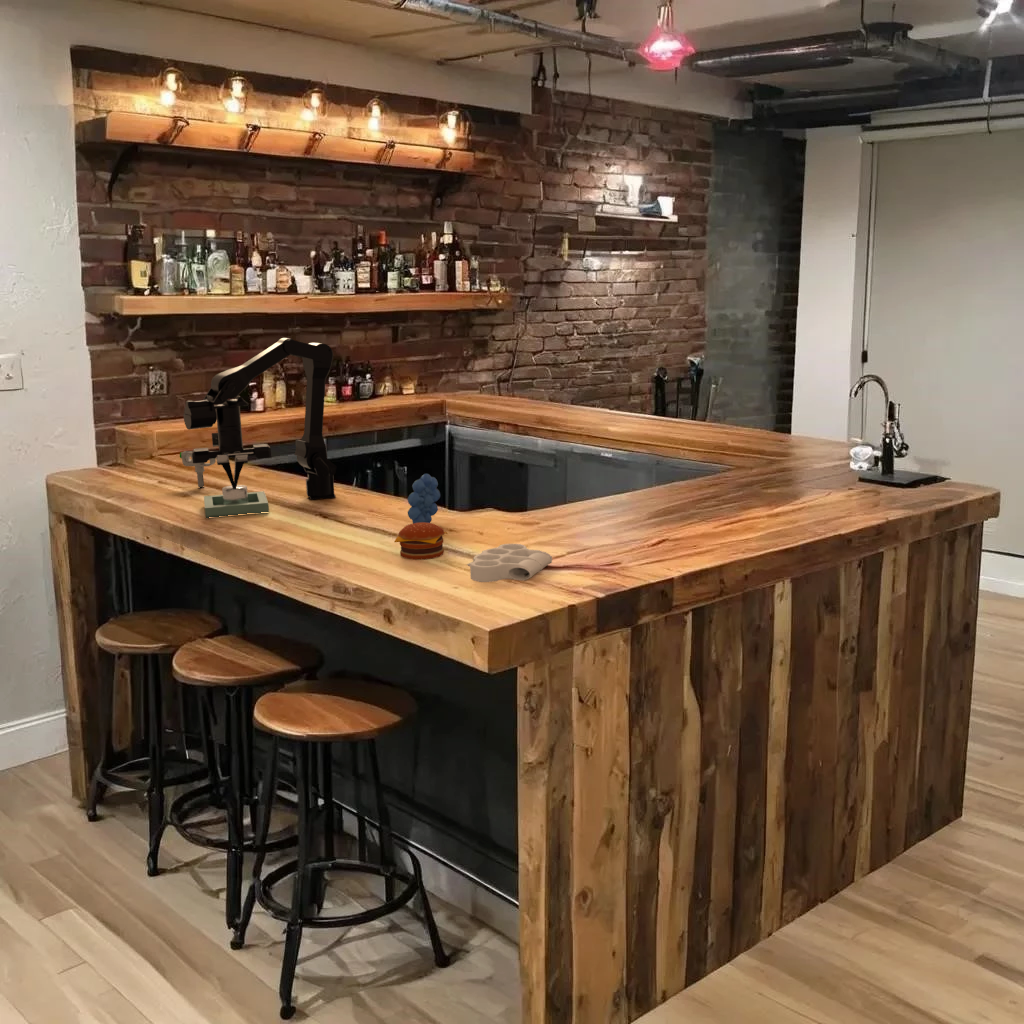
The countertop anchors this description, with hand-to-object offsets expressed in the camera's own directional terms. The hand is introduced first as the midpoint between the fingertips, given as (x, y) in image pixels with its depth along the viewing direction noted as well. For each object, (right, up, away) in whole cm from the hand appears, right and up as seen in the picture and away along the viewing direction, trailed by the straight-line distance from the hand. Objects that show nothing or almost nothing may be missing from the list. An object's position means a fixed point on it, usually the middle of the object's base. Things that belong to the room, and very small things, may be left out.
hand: (234, 487), depth 280 cm
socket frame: (0, -5, +1) cm, 6 cm away
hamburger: (+50, -15, -46) cm, 70 cm away
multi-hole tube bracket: (+68, -18, -60) cm, 92 cm away
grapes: (+48, -9, -21) cm, 53 cm away
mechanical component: (-17, 0, +30) cm, 34 cm away
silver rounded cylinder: (0, -5, +1) cm, 5 cm away
